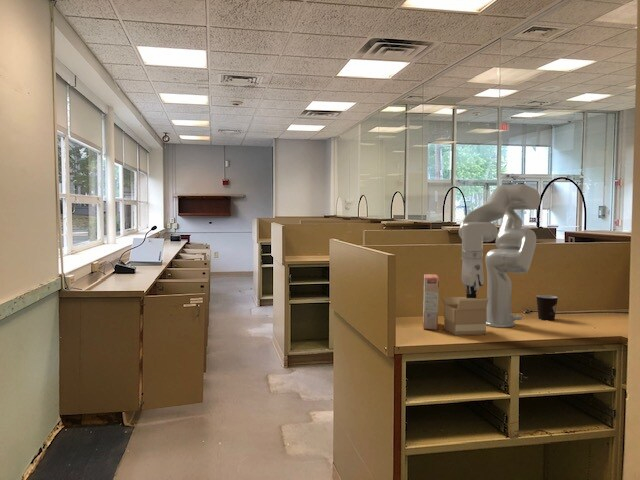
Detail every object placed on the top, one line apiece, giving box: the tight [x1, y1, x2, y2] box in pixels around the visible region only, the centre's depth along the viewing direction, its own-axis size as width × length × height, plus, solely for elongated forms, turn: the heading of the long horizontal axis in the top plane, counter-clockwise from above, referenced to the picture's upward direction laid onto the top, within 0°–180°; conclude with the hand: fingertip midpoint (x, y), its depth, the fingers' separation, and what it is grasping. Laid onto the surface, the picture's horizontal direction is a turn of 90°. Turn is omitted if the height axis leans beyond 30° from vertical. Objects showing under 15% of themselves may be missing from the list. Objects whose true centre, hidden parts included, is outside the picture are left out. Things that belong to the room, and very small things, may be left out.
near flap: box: [457, 297, 489, 310], centre depth 184 cm, size 11×5×1 cm
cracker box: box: [422, 273, 440, 331], centre depth 201 cm, size 14×6×21 cm, turn 168°
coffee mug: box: [536, 294, 559, 322], centre depth 216 cm, size 12×9×10 cm
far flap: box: [441, 296, 466, 305], centre depth 199 cm, size 11×5×1 cm, turn 97°
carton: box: [443, 304, 487, 337], centre depth 191 cm, size 13×11×10 cm
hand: (471, 303), depth 185 cm, fingers closed
